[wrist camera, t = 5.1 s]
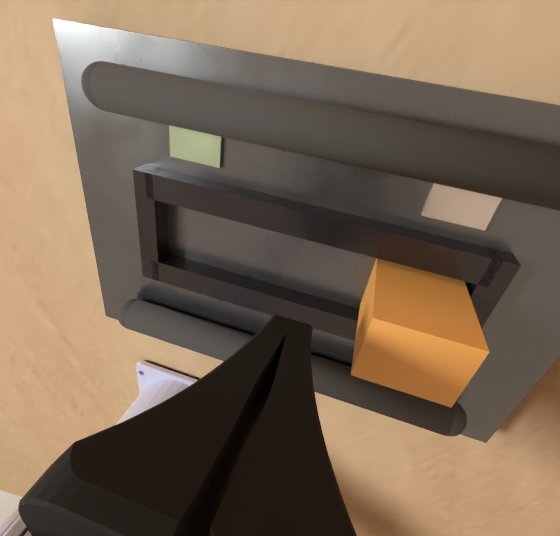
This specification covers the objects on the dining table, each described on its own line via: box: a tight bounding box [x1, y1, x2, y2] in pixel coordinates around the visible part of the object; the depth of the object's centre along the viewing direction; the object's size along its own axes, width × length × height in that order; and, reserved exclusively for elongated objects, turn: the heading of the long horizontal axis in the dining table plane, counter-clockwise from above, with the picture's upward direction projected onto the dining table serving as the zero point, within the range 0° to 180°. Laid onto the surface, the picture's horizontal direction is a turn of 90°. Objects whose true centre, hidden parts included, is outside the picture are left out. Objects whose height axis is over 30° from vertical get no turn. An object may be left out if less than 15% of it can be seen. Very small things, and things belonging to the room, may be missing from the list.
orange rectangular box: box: [351, 258, 489, 408], centre depth 13 cm, size 3×4×4 cm
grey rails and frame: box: [81, 61, 560, 436], centre depth 15 cm, size 14×20×2 cm
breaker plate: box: [52, 18, 560, 443], centre depth 16 cm, size 16×24×2 cm, turn 82°
